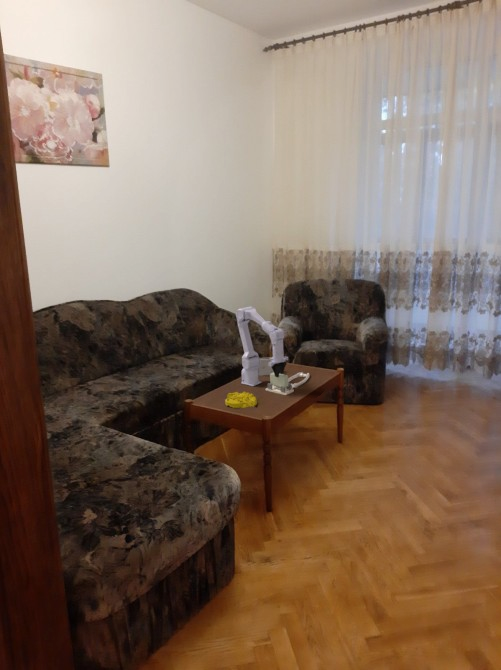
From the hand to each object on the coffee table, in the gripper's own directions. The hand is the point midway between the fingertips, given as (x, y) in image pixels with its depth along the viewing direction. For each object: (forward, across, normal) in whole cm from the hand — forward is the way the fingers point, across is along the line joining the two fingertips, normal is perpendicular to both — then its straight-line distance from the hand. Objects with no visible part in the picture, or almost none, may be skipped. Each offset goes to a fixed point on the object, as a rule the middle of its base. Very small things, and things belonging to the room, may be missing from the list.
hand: (279, 376), depth 269 cm
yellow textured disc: (+9, -25, +6) cm, 27 cm away
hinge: (+9, +21, +25) cm, 34 cm away
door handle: (+9, +18, +1) cm, 20 cm away
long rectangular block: (+5, 0, 0) cm, 5 cm away
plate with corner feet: (+8, 0, 0) cm, 8 cm away
